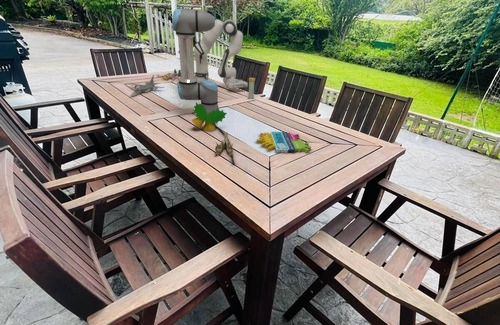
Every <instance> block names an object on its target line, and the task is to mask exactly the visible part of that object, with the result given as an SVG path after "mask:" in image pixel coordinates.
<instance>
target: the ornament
mask: <svg viewBox="0 0 500 325" xmlns="http://www.w3.org/2000/svg"><path fill="white" fill-rule="evenodd" d="M219 110H220V108H219V109H217V110H216V111H214V110H212V112H211V113H208V112H206V109H204V106H201V103H198V102H195V105H194V106H193V112H194V113H195V118H192V119H191V122H192V123H193V125H195V127H197V128H198V129H202V130H203V131H206V132H212V131H213V132H214V131H215V130H216V127H215V125H214V123H215V124H218V123H219V122H223V119H226V115H227V114H228V113H227V112H224V110H223V109H221V110H220V111H219ZM207 113H208V115H207Z"/></svg>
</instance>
